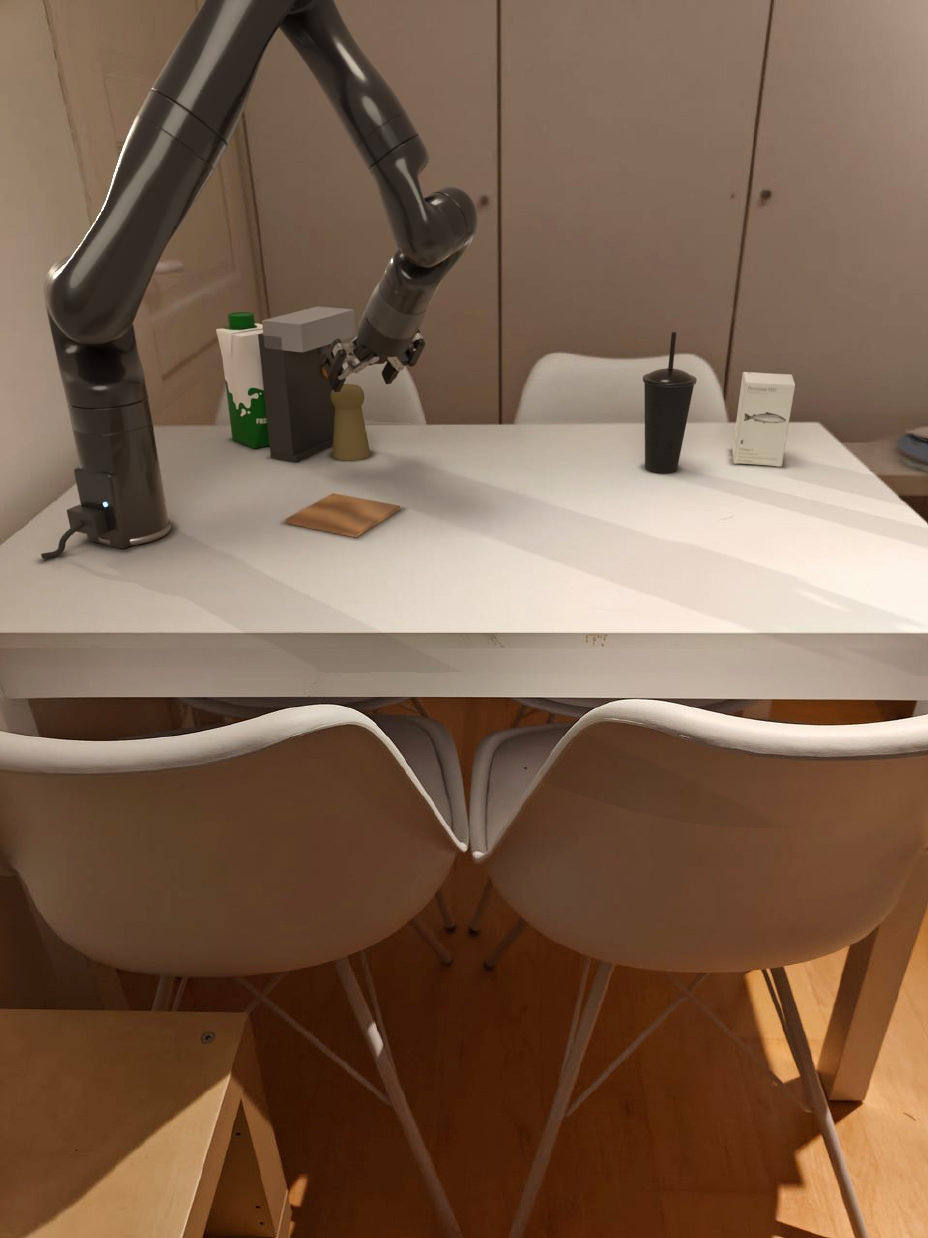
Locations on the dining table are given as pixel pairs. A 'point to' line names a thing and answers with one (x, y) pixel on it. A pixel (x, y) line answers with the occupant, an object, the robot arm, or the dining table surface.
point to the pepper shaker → (349, 424)
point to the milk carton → (244, 379)
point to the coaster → (343, 515)
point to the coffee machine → (300, 379)
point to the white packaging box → (763, 418)
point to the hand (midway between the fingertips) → (360, 383)
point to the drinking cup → (666, 414)
